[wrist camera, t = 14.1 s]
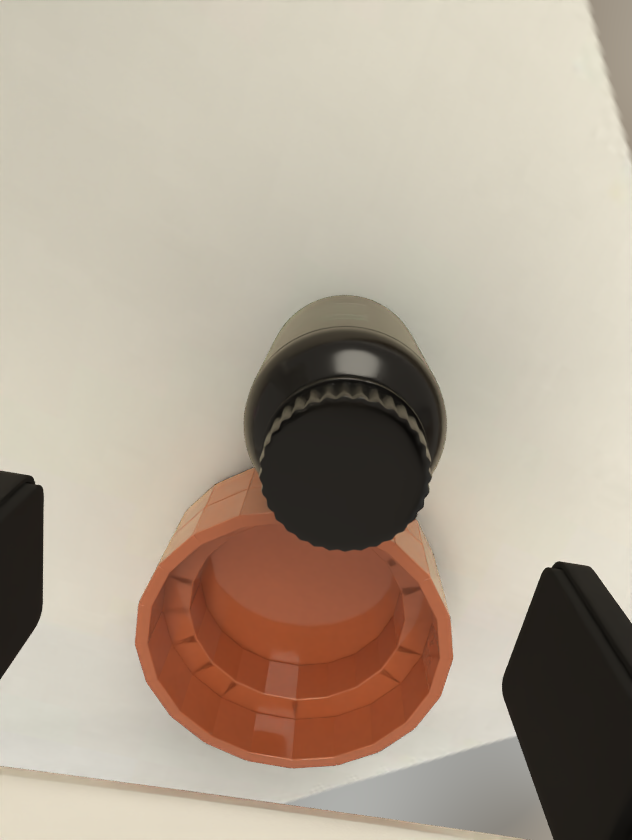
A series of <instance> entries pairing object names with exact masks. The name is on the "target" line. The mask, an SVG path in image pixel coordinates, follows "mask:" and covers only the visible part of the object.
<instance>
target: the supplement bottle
mask: <svg viewBox="0 0 632 840" xmlns="http://www.w3.org/2000/svg"><path fill="white" fill-rule="evenodd" d="M446 431H447V418H446V410H445V405H444V401H443V397H442V394H441V391H440V388H439V386H438V384H437V382H436V379H435V377H434V375H433V374H432V372H431V370H430V368H429V366H428V364H427V363H426V361H425V359H424V357H423V355H422V353H421V351H420V350H419V348H418V346H417V344H416V342H415V340H414V339H413V337H412V335H411V333H410V332H409V330H408V329H407V328H406V326H405V325H404V323H403V322H402V321H401V320H400V319H399V318H398V317H397V316H396V315H395V314H394V313H393V312H391V311H390V310H389V309H387V308H386V307H384V306H383V305H381V304H379V303H377V302H375V301H373V300H370V299H367V298H363V297H359V296H351V295H339V296H331V297H326V298H323V299H320V300H317V301H314V302H312V303H310V304H308V305H307V306H305V307H303V308H302V309H300V310H299V311H298V312H297V313H295V314H294V315H293V316H292V317H291V318H290V319H289V320H288V321H287V322H286V324H285V325H284V326H283V328H282V329H281V331H280V332H279V334H278V335H277V337H276V339H275V341H274V343H273V345H272V347H271V349H270V351H269V353H268V355H267V357H266V358H265V360H264V362H263V364H262V366H261V368H260V370H259V372H258V374H257V376H256V378H255V380H254V382H253V385H252V387H251V389H250V392H249V396H248V399H247V402H246V407H245V413H244V436H245V442H246V447H247V451H248V454H249V457H250V459H251V462H252V464H253V466H254V468H255V470H256V471H257V473H258V475H259V479H260V481H261V483H262V488H261V492H262V494H263V496H264V497H265V498H266V499H267V507H268V508H269V509H270V510H271V511H272V512H274V516H275V519H276V520H277V521H279V522H280V523H282V524H283V525H284V527H285V529H286V530H287V531H288V532H290V533H293V534H295V535H296V536H297V538H298V539H299V540H302V541H307V542H309V543H310V544H311V545H313V546H314V547H323V548H325V549H327V550H329V551H330V550H341V551H344V552H347V551H350V550H360V551H362V550H364V549H366V548H368V547H377V546H379V545H380V544H381V543H382V542H385V541H390V540H392V539H393V538H394V537H395V535H396V534H398V533H401V532H403V531H405V529H406V527H407V525H408V524H409V523H411V522H413V521H414V520H415V519H416V516H417V512H418V511H420V510H421V509H422V508H423V507H424V499H425V497H426V496H427V495H428V493H429V482H430V480H431V478H432V474H433V472H434V470H435V469H436V467H437V465H438V463H439V460H440V458H441V455H442V452H443V449H444V444H445V440H446Z"/></svg>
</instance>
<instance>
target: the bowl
mask: <svg viewBox="0 0 632 840" xmlns="http://www.w3.org/2000/svg"><path fill="white" fill-rule="evenodd" d="M261 488H262V483H261V481H260V479H259V475H258V473H257V471H256V470H255V468H251V469H249V470H247V471H245V472H242V473H240V474H238V475H235V476H233V477H231V478H228V479H226V480H224V481H222V482H219V483H217V484H215V485H214V486H213V487H212V488H211V489H210V490H208V491H207V492H206V493H205V494H204V495H203V496H202V497H201V498H200V499H198V500H197V501H196V502H195V503H194V504H193V505H192V506H191V507H190V508H189V509H187V511H186V512H185V514H184V516H183V518H182V519H181V521H180V523H179V525H178V527H177V529H176V531H175V533H174V535H173V537H172V539H171V541H170V543H169V545H168V546H167V548H166V550H165V552H164V554H163V556H162V558H161V560H160V562H159V564H158V566H157V568H156V570H155V572H154V574H153V576H152V578H151V579H150V581H149V583H148V585H147V587H146V589H145V591H144V593H143V595H142V597H141V599H140V601H139V604H138V614H137V625H136V637H135V646H136V649H137V653H138V656H139V660H140V663H141V666H142V670H143V673H144V676H145V680H146V682H147V684H148V685H149V687H150V688H151V690H152V691H153V692H154V694H155V695H156V697H157V698H158V699H159V701H160V702H161V704H162V705H163V706H164V708H165V709H166V711H167V712H168V713H169V715H170V716H171V717H172V718H173V719H175V720H176V721H177V722H179V723H180V724H181V725H182V726H184V727H185V728H186V729H188V730H189V731H190V732H192V733H193V734H194V735H195V736H197V737H198V738H199V739H201V740H202V741H203V742H206V744H208V745H211V746H213V747H216V748H218V749H220V750H223V751H225V752H227V753H230V754H232V755H234V756H237V757H239V758H241V759H244V760H247V761H251V762H257V763H262V764H268V765H274V766H280V767H286V768H291V767H292V768H306V767H322V766H336V765H340V764H343V763H346V762H349V761H353V760H356V759H359V758H362V757H365V756H368V755H372V754H375V753H378V752H380V751H382V750H383V749H385V748H386V747H388V746H389V745H391V744H392V743H394V742H395V741H397V740H398V739H400V738H401V737H403V736H404V735H406V734H408V733H409V732H411V731H412V730H414V728H416V727H417V725H418V724H419V723H420V722H421V720H422V719H423V718H424V717H425V715H426V714H427V713H428V712H429V710H430V709H431V708H432V707H433V705H434V704H435V703H436V702H437V700H438V699H439V698H440V696H441V694H442V691H443V688H444V685H445V682H446V679H447V676H448V672H449V669H450V666H451V663H452V660H453V648H452V634H451V620H450V615H449V611H448V607H447V603H446V600H445V596H444V592H443V588H442V585H441V581H440V577H439V573H438V569H437V566H436V562H435V558H434V554H433V552H432V550H431V548H430V546H429V544H428V542H427V540H426V538H425V535H424V533H423V531H422V529H421V527H420V525H419V523H418V521H417V520H416V519H415V520H414V521H413V522H411V523H409V524H408V525H407V527H406V529H405V531H403V532H401V533H398V534H396V535H395V537H394V538H393V539H392V540H390V541H385V542H382V543H381V544H380V545H379V546H377V547H368V548H366V549H364V550H362V551H360V550H350V551H347V552H344V551H341V550H330V551H329V550H327V549H325V548H323V547H314V546H313V545H311V544H310V543H309V542H307V541H302V540H299V539H298V538H297V536H296V535H295V534H293V533H290V532H288V531H287V530H286V529H285V527H284V525H283V524H282V523H280V522H279V521H277V520H276V519H275V516H274V512H272V511H271V510H270V509H269V508H268V507H267V499H266V498H265V497H264V496H263V494H262V492H261Z"/></svg>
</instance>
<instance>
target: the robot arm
mask: <svg viewBox="0 0 632 840" xmlns="http://www.w3.org/2000/svg"><path fill="white" fill-rule="evenodd" d="M43 507H44V493H43V488H42V486H41V485H35V481H34V478H33V477H32V476H30V475H23V474H17V473H11V472H5V471H0V679H1V678H2V676H3V675H4V673H5V672H6V670H7V669H8V667H9V666H10V664H11V663H12V661H13V660H14V658H15V657H16V655H17V654H18V652H19V651H20V650H21V648H22V647H23V645H24V644H25V642H26V641H27V639H28V638H29V636H30V635H31V633H32V632H33V630H34V629H35V627H36V626H37V624H38V621H39V619H40V616H41V612H42V605H43ZM502 692H503V697H504V700H505V703H506V706H507V709H508V712H509V715H510V717H511V720H512V723H513V726H514V729H515V732H516V734H517V737H518V740H519V743H520V746H521V749H522V751H523V754H524V757H525V760H526V762H527V766H528V768H529V771H530V774H531V777H532V780H533V783H534V785H535V788H536V791H537V794H538V797H539V800H540V802H541V805H542V808H543V811H544V814H545V816H546V819H547V822H548V825H549V828H550V830H551V833H552V836H553V839H554V840H632V623H631V622H630V620H629V619H628V618H627V616H626V615H625V613H624V612H623V611H622V609H621V608H620V606H619V605H618V604H617V602H616V601H615V600H614V598H613V597H612V595H611V594H610V593H609V591H608V590H607V588H606V587H605V586H604V584H603V583H602V581H601V580H600V579H599V577H598V576H597V574H596V573H595V572H594V570H593V569H592V568H591V567H589V566H585V565H578V564H572V563H566V562H560V561H559V562H556V563H555V564H554V565H553V566H552V568H549V567H548V568H545V569H544V570H543V572H542V574H541V577H540V579H539V582H538V585H537V588H536V590H535V593H534V596H533V598H532V601H531V604H530V606H529V609H528V612H527V614H526V617H525V620H524V622H523V625H522V628H521V630H520V633H519V636H518V638H517V641H516V644H515V646H514V649H513V652H512V654H511V657H510V660H509V663H508V665H507V668H506V671H505V673H504V676H503V681H502ZM0 840H528V839H521V838H514V837H508V836H501V835H495V834H488V833H481V832H474V831H467V830H460V829H454V828H446V827H440V826H433V825H426V824H420V823H413V822H406V821H398V820H392V819H385V818H378V817H371V816H364V815H357V814H349V813H342V812H335V811H328V810H321V809H314V808H307V807H300V806H293V805H286V804H278V803H271V802H264V801H257V800H250V799H242V798H235V797H228V796H221V795H214V794H206V793H199V792H192V791H185V790H177V789H170V788H162V787H155V786H147V785H140V784H132V783H125V782H117V781H110V780H102V779H95V778H87V777H80V776H72V775H65V774H57V773H50V772H42V771H35V770H27V769H20V768H12V767H4V766H0Z"/></svg>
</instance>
